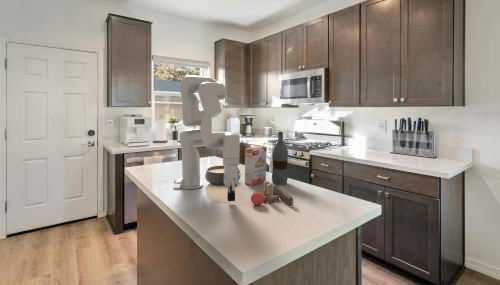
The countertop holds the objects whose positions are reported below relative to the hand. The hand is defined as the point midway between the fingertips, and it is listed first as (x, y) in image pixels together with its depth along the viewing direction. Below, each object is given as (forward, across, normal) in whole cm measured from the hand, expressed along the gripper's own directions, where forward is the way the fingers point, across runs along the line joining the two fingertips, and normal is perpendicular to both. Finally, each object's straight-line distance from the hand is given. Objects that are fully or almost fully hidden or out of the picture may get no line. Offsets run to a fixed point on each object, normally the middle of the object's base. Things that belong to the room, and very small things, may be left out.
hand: (231, 200), depth 129 cm
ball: (-2, +4, +11) cm, 12 cm away
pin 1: (+2, -2, +18) cm, 18 cm away
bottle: (+2, -28, +34) cm, 44 cm away
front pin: (0, 0, +14) cm, 14 cm away
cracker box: (+2, -33, +21) cm, 39 cm away
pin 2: (+2, +3, +18) cm, 18 cm away
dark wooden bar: (+2, 0, +25) cm, 25 cm away
